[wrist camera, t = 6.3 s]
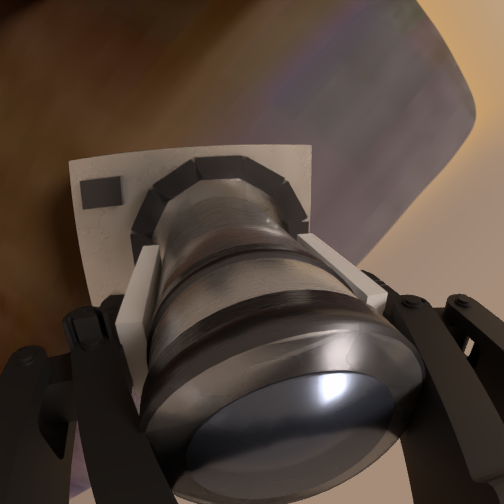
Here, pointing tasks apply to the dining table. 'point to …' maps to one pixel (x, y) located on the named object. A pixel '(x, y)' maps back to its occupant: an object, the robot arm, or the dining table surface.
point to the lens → (266, 365)
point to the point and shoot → (176, 199)
